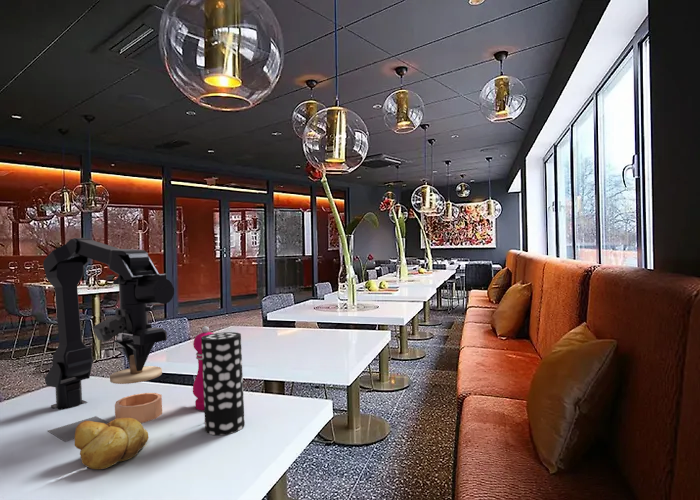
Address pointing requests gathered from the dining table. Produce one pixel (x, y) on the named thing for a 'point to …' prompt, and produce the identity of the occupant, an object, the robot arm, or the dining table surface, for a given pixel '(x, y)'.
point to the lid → (135, 374)
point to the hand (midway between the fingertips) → (136, 369)
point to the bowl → (139, 407)
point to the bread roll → (109, 441)
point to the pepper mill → (199, 370)
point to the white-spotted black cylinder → (223, 383)
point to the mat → (72, 429)
